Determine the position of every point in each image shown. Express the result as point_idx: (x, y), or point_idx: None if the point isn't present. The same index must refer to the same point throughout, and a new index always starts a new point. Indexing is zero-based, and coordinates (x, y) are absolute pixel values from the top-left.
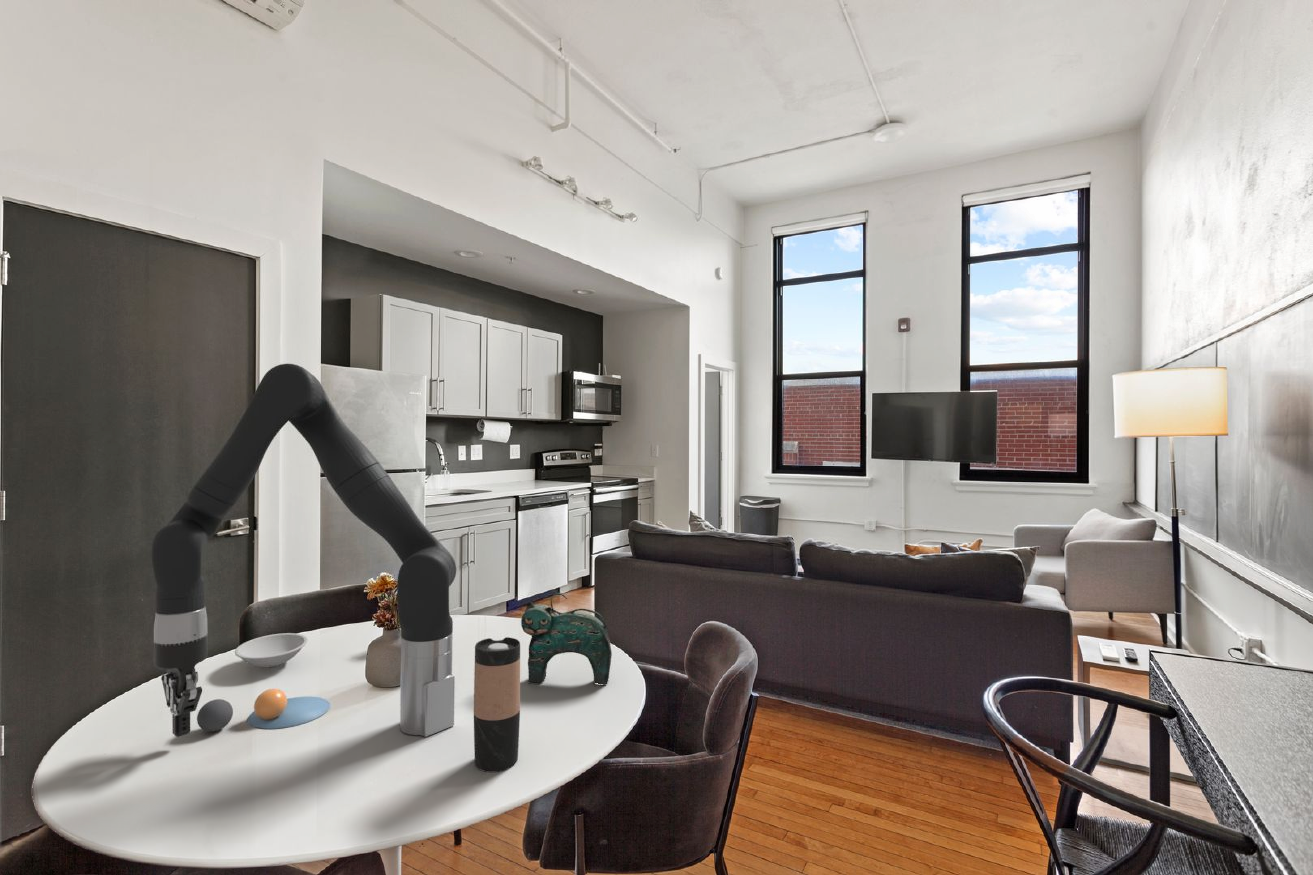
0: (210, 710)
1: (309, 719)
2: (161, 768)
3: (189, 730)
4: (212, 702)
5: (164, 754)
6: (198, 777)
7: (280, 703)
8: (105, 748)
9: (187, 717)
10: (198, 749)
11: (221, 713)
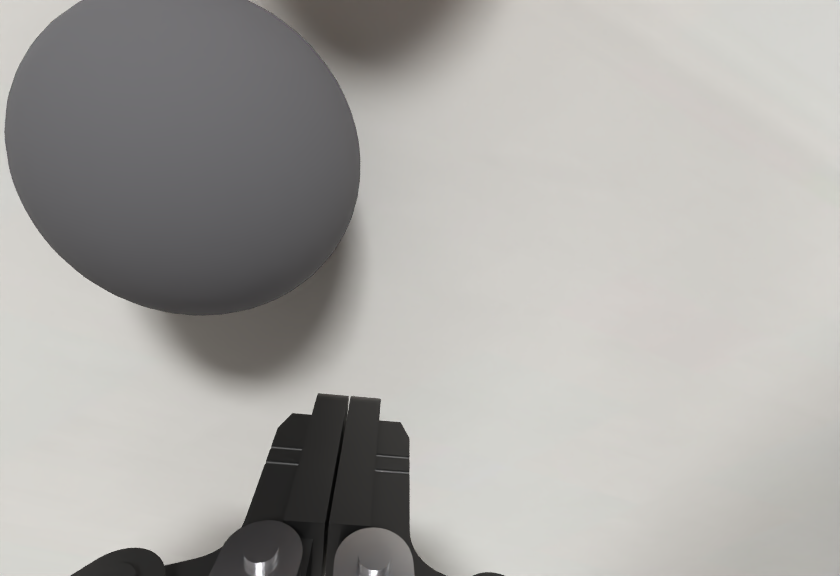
0: (275, 274)
1: None
2: (519, 494)
3: (377, 405)
4: (166, 243)
5: None
6: (774, 446)
7: None
8: (58, 548)
9: (407, 526)
10: (471, 329)
11: (343, 180)
